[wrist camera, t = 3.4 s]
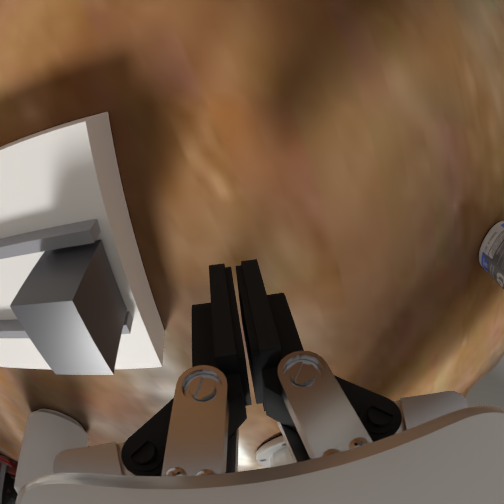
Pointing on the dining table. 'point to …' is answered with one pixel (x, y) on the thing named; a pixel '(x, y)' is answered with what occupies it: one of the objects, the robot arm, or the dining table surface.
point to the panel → (71, 231)
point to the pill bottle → (494, 253)
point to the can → (46, 443)
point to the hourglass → (7, 480)
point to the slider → (73, 310)
